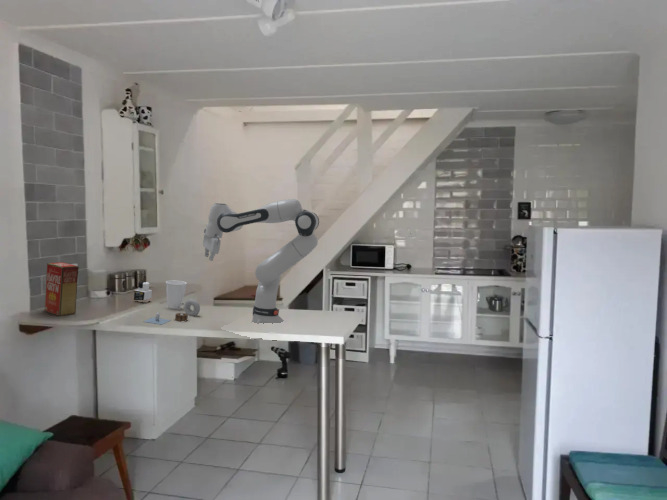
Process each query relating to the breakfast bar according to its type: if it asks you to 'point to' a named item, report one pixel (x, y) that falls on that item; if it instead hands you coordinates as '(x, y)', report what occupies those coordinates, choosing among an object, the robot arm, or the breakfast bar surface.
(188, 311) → the donut
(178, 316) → the ring
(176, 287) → the cup
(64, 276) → the food packaging
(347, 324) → the breakfast bar surface
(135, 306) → the breakfast bar surface
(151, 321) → the hub
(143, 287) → the medicine bottle
